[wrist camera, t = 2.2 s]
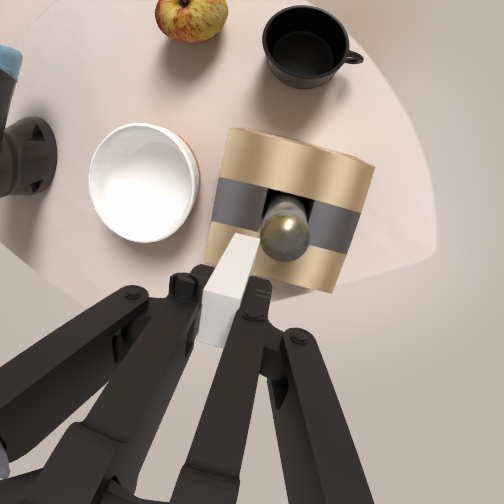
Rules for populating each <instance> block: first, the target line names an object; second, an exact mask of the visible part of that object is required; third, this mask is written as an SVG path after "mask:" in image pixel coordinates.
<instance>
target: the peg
mask: <svg viewBox="0 0 504 504" xmlns="http://www.w3.org/2000/svg"><path fill="white" fill-rule="evenodd" d="M309 243H310V235H309V230H308V224H307V218H306V213H305V207H304V204H303V202H302V201H301V199H300V198H299V197H297V196H296V195H294V194H290V193H280V194H278V195H276V196H274V197H273V198H272V199H271V200H270V202H269V204H268V206H267V210H266V214H265V218H264V221H263V225H262V229H261V233H260V244H261V247H262V249H263V251H264V252H265V254H266V255H267V256H269V257H270V258H272V259H273V260H276V261H279V262H291V261H294V260H296V259H298V258H300V257H301V256H302V255H303V254H304V253H305V252H306V250H307V249H308V246H309Z"/></svg>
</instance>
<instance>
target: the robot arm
mask: <svg viewBox="0 0 504 504" xmlns="http://www.w3.org/2000/svg"><path fill="white" fill-rule="evenodd" d="M21 64H22V54H21V53H20V52H19V51H18V50H16V49H13V48H9V47H6V46H2V45H0V198H2V197H4V196H7V195H27V196H28V195H33V194H36V193H38V192H41V191H42V190H44V189H45V188H46V187H47V186H48V185H49V183H50V182H51V180H52V178H53V175H54V172H55V168H56V162H57V148H56V141H55V137H54V134H53V132H52V130H51V128H50V126H49V125H48V124H47V123H46V122H45V121H44V120H43V119H41V118H39V117H28V118H23V119H21V120H19V121H17V122H16V123H14V124H12V125H11V126H9V127H7V128H6V129H5V125H6V120H7V116H8V112H9V107H10V103H11V100H12V96H13V92H14V89H15V85H16V83H17V82H18V74H19V71H20V67H21ZM259 243H260V239H259V238H255V237H251V236H246V235H242V234H238V233H235V234H234V236H233V238H232V239H231V241H230V243H229V245H228V247H227V248H226V250H225V252H224V254H223V255H222V257H221V259H220V261H219V262H218V264H217V266H216V268H214V267H210V266H207V265H203V264H200V265H198V266H196V267H194V268H193V269H192V271H191V272H190V273H176V274H173V275H172V276H170V283H169V294H168V296H167V297H166V298H152V297H149V293H148V291H147V290H146V289H144V288H143V287H140V286H136V285H129V286H125V287H122V288H120V289H119V290H117V291H116V292H114V293H112V294H111V295H109V296H108V297H106V298H104V299H103V300H101V301H100V302H98V303H96V304H95V305H93V306H92V307H90V308H89V309H87V310H85V311H84V312H82V313H81V314H79V315H78V316H76V317H75V318H73V319H71V320H70V321H68V322H67V323H65V324H64V325H62V326H61V327H59V328H58V329H56V330H55V331H53V332H52V333H50V334H48V335H47V336H45V337H44V338H43V339H41V340H39V341H38V342H36V343H35V344H34V345H32V346H31V347H29V348H28V349H26V350H25V351H23V352H22V353H20V354H19V355H17V356H16V357H14V358H13V359H12V360H10V361H9V362H7V363H6V364H4V365H3V366H1V367H0V478H3V480H0V504H236V501H237V496H238V492H239V486H240V480H239V475H240V469H241V464H242V460H243V455H244V450H245V445H246V439H247V434H248V430H249V424H250V419H251V414H252V409H253V403H254V398H255V393H256V387H257V381H258V376H259V374H261V375H263V376H265V377H267V385H268V390H269V396H270V402H271V407H272V413H273V419H274V424H275V430H276V436H277V441H278V447H279V452H280V458H281V464H282V469H283V474H284V480H285V485H286V491H287V496H288V502H289V504H374V501H373V498H372V495H371V492H370V489H369V486H368V483H367V481H366V477H365V474H364V471H363V468H362V466H361V463H360V460H359V457H358V454H357V451H356V448H355V446H354V443H353V440H352V437H351V434H350V431H349V428H348V426H347V423H346V420H345V417H344V414H343V412H342V409H341V406H340V403H339V401H338V398H337V395H336V392H335V390H334V387H333V384H332V382H331V379H330V377H329V374H328V371H327V368H326V366H325V363H324V361H323V358H322V355H321V353H320V350H319V347H318V345H317V342H316V339H315V338H314V336H313V335H312V334H311V333H309V332H308V331H306V330H304V329H301V328H289V329H287V330H286V331H285V332H283V331H281V330H279V329H277V328H275V327H274V326H273V325H272V324H271V323H270V322H269V320H268V310H269V304H270V298H271V292H272V285H271V283H270V281H269V280H265V279H261V278H257V277H253V276H252V273H253V269H254V264H255V260H256V256H257V252H258V247H259ZM196 335H197V341H199V342H202V343H206V344H209V345H213V346H216V347H220V348H224V349H223V352H222V356H221V358H220V362H219V365H218V367H217V370H216V374H215V377H214V379H213V382H212V385H211V388H210V391H209V394H208V397H207V400H206V403H205V406H204V409H203V412H202V415H201V418H200V421H199V424H198V427H197V430H196V433H195V436H194V439H193V442H192V445H191V447H190V450H189V453H188V456H187V459H186V462H185V464H184V465H183V466H182V469H181V471H180V474H179V476H178V479H177V482H176V485H175V488H174V491H173V494H172V497H171V499H170V502H161V501H153V500H146V499H141V498H138V497H136V496H135V495H134V493H135V490H136V485H137V478H138V475H139V472H140V470H141V467H142V465H143V463H144V460H145V458H146V456H147V453H148V451H149V449H150V446H151V444H152V442H153V439H154V437H155V434H156V432H157V430H158V428H159V425H160V423H161V421H162V418H163V416H164V414H165V412H166V409H167V407H168V405H169V402H170V400H171V398H172V395H173V393H174V391H175V388H176V386H177V384H178V382H179V379H180V377H181V375H182V373H183V370H184V368H185V366H186V364H187V361H188V359H189V357H190V355H191V353H192V350H193V346H194V340H195V338H196ZM109 380H110V381H109ZM108 381H109V382H108ZM107 382H108V384H107V385H106V387H105V388H104V390H103V391H102V393H101V394H100V396H99V398H98V399H97V401H96V402H95V404H94V406H93V407H92V409H91V410H90V412H89V414H88V415H87V417H86V418H85V419H84V421H82V422H74V423H72V424H71V425H70V426H69V427H68V429H67V430H66V432H65V433H64V435H63V436H62V438H61V439H60V441H59V443H58V444H57V446H56V447H55V449H54V451H53V452H52V454H51V456H50V457H49V459H48V461H47V462H46V464H45V466H44V467H43V468H41V469H38V470H35V471H31V472H28V473H25V474H21V475H18V476H14V477H11V478H8V477H9V475H10V469H9V463H10V462H13V461H15V460H17V459H19V458H20V457H22V456H24V455H25V454H27V453H28V452H29V451H31V450H32V449H33V448H34V447H35V446H37V445H38V444H39V443H40V442H41V441H42V440H43V439H45V438H46V437H47V436H48V435H49V434H50V433H51V432H52V431H53V430H55V429H56V428H57V427H58V426H59V425H60V424H61V423H62V422H64V421H65V420H66V419H67V418H68V417H69V416H70V415H71V414H72V413H74V412H75V411H76V410H77V409H78V408H79V407H80V406H81V405H82V404H83V403H85V402H86V401H87V400H88V399H89V398H90V397H91V396H93V395H94V394H95V393H96V392H97V391H98V390H99V389H100V388H101V387H103V386H104V385H105V384H106V383H107ZM5 478H7V479H5Z"/></svg>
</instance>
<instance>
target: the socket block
mask: <svg viewBox="0 0 504 504" xmlns="http://www.w3.org/2000/svg"><path fill="white" fill-rule="evenodd" d="M374 169H375V167H374V166H373V165H371V164H369V163H367V162H364V161H362V160H360V159H358V158H356V157H353V156H350V155H347V154H344V153H341V152H337V151H334V150H330V149H327V148H324V147H320V146H316V145H313V144H309V143H305V142H301V141H298V140H294V139H290V138H286V137H281V136H277V135H273V134H269V133H264V132H260V131H255V130H250V129H245V128H229V130H228V135H227V140H226V145H225V150H224V155H223V160H222V165H221V170H220V175H219V180H218V186H217V191H216V197H215V202H214V208H213V213H212V219H211V225H210V231H209V237H208V243H207V249H206V255H205V261H204V262H205V263H208V264H212V265H216V266H217V264H218V262H219V261H220V259H221V257H222V255H223V254H224V252H225V250H226V248H227V247H228V245H229V243H230V241H231V239H232V238H233V236H234V234H235V233H238V234H242V235H246V236H251V237H255V238H259V239H260V233H261V229H262V225H263V221H264V218H265V214H266V210H267V209H265V204H266V200H267V196H268V192H269V188H270V189H275V190H279V191H283V192H287V193H290V194H294V195H298V196H302V197H305V200H304V203H303V204H304V207H305V213H306V218H307V224H308V230H309V235H310V243H309V246H308V249H307V250H306V252H305V253H304V254H303V255H302V256H301V257H300V258H298V259H296V260H294V261H291V262H279V261H276V260H273V259H272V258H270V257H269V256H267V255H266V254H265V252H264V251H263V249H262V247H261V244H260V243H259V247H258V252H257V256H256V260H255V264H254V269H253V273H252V275H256V276H260V277H265V278H269V279H273V280H277V281H281V282H285V283H289V284H294V285H298V286H302V287H306V288H310V289H315V290H319V291H323V292H328V293H332V291H333V289H334V286H335V284H336V281H337V279H338V276H339V274H340V271H341V268H342V266H343V263H344V260H345V258H346V255H347V252H348V249H349V246H350V244H351V241H352V238H353V235H354V232H355V229H356V226H357V223H358V221H359V218H360V215H361V211H362V208H363V205H364V202H365V199H366V196H367V193H368V189H369V186H370V183H371V180H372V176H373V173H374Z"/></svg>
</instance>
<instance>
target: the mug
mask: <svg viewBox="0 0 504 504" xmlns="http://www.w3.org/2000/svg"><path fill="white" fill-rule="evenodd" d="M262 43H263V48H264V51H265V54H266V57H267V60H268V63H269V66H270V69H271V70H272V72H273V73H274V75H275V76H276V77H277V78H278V79H279V80H280V81H282V82H283V83H285V84H287V85H288V86H291V87H294V88H299V89H311V88H316V87H319V86H321V85H323V84H325V83H326V82H327V81H329V80H330V79H331V77H332V76H333V75H334V74H335V73H336V72H337V71H338V70H339V68H340V67H341V66H342V65H343V64H344V63H348V64H359V63H362V62H363V60H364V58H363V57H362V56H361V55H360V54H358V53H356V52H353V51H350V50H349V39H348V35H347V32H346V30H345V29H344V27H343V25H342V24H341V23H340V22H339V20H338V19H336V18H335V17H334V16H333V15H331V14H330V13H328V12H327V11H325V10H323V9H320V8H317V7H313V6H306V5H299V6H292V7H288V8H285V9H283V10H281V11H279V12H277V13H276V14H275V15H273V16H272V17H271V19H270V20H269V21H268V22H267V24H266V26H265V28H264V31H263V35H262ZM347 57H352V58H347Z"/></svg>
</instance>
